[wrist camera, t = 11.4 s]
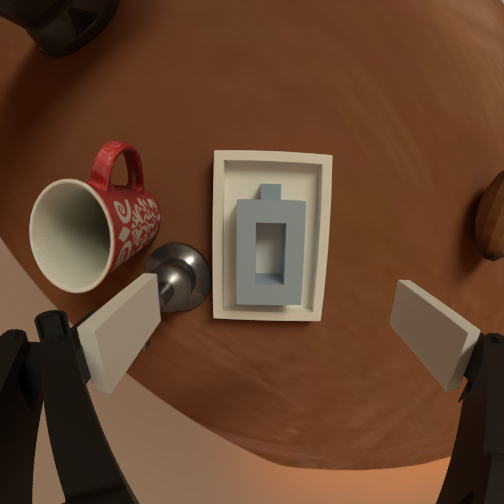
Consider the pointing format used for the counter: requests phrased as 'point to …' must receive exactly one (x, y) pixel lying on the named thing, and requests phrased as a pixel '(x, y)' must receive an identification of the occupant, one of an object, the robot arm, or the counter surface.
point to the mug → (93, 222)
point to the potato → (491, 220)
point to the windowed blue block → (293, 239)
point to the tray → (270, 228)
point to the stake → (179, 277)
